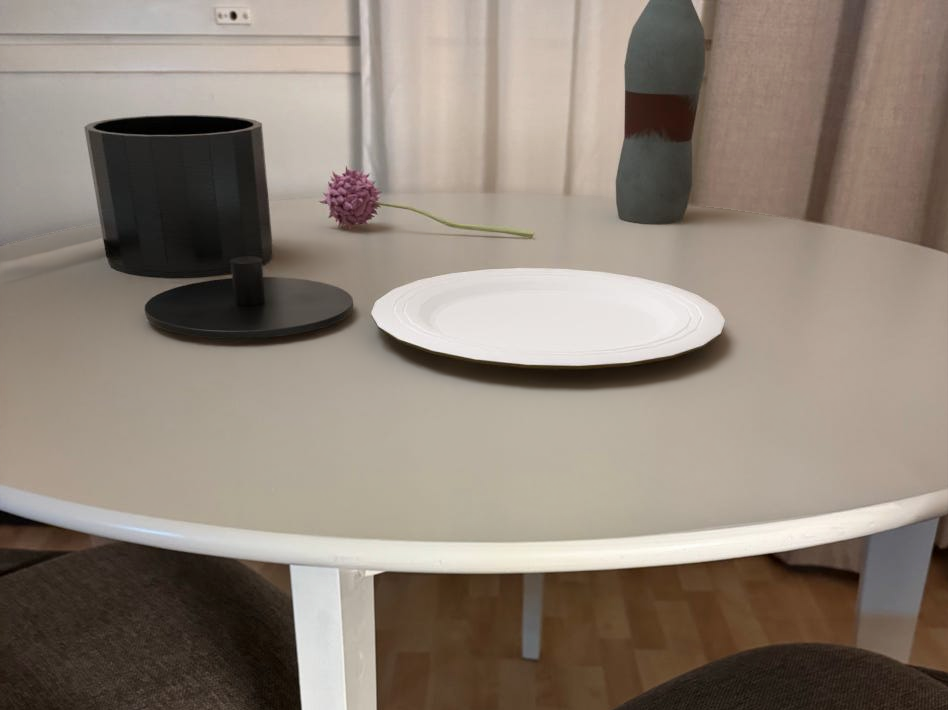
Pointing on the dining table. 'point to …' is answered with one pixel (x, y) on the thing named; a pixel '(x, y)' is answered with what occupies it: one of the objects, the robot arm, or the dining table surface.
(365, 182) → the artificial flower
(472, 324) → the plate
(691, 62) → the bottle
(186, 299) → the bin lid
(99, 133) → the trash can
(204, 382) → the dining table surface
